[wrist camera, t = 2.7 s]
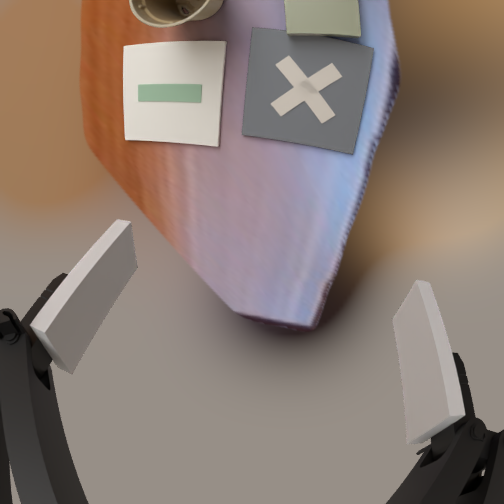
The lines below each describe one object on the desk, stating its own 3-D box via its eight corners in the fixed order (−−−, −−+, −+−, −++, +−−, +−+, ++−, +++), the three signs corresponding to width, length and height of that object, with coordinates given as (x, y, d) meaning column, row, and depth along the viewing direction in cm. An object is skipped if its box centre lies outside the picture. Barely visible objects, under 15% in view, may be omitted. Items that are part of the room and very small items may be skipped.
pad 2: (253, 27, 27) (252, 27, 27) (372, 48, 26) (374, 48, 25) (242, 133, 36) (241, 135, 35) (352, 153, 35) (352, 154, 34)
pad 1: (126, 46, 30) (123, 46, 29) (226, 41, 29) (225, 41, 28) (127, 138, 38) (124, 140, 38) (219, 145, 37) (217, 146, 37)
